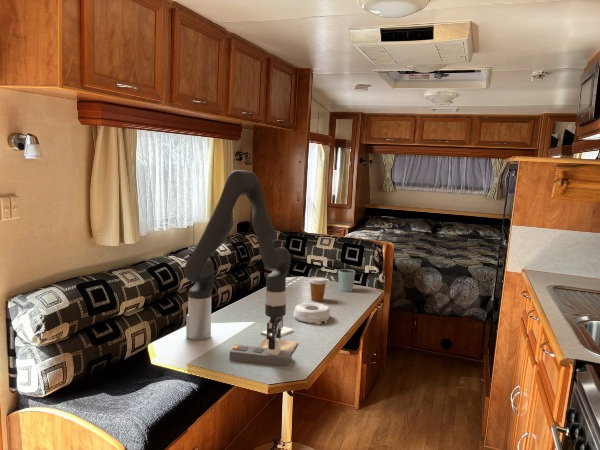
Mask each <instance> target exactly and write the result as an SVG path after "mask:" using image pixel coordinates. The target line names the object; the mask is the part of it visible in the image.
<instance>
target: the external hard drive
mask: <svg viewBox="0 0 600 450" xmlns="http://www.w3.org/2000/svg"><path fill="white" fill-rule="evenodd" d="M274 331H275V330H274ZM294 331H295V330H294V329H293V328H291V327H288V326H284V325H283V328H282V330H281V337H283V336H286V335H288V334H291V333H294ZM260 335H262V336H265V337H267V329H266V330H264V331H261V332H260ZM270 336H272V333H271V335H270Z"/></svg>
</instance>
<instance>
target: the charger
mask: <svg viewBox="0 0 600 450" xmlns="http://www.w3.org/2000/svg"><path fill="white" fill-rule="evenodd" d="M281 340H282V338H281V339H280V338H276V337H275V349H274V350H270V349H269V340H268V352H267V354H270V355H278V356H279V354H280V349H281Z"/></svg>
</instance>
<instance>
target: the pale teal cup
mask: <svg viewBox="0 0 600 450" xmlns="http://www.w3.org/2000/svg"><path fill="white" fill-rule="evenodd" d="M337 272H338V273H337V274H338V276H337V277H338V278H337V279H338V287H337V288H338V289H337V290H338V291H340V292H343V293H351V292H353V290H354V283H355V276H356V271H355V270H354V269H349V268H340V269H338V271H337Z"/></svg>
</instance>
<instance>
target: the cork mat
mask: <svg viewBox="0 0 600 450" xmlns="http://www.w3.org/2000/svg"><path fill="white" fill-rule="evenodd" d="M268 340H269V339H267V338H264V339H263V340H262V341H261V342H260V343H259V345H258V346H257V347H262V348H268ZM298 344H299V342H298V341H291V340H290V341H289V340H282V339H281V349H280V350H288V351H292V353H294V351H295V349H296V348H297V345H298Z"/></svg>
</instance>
